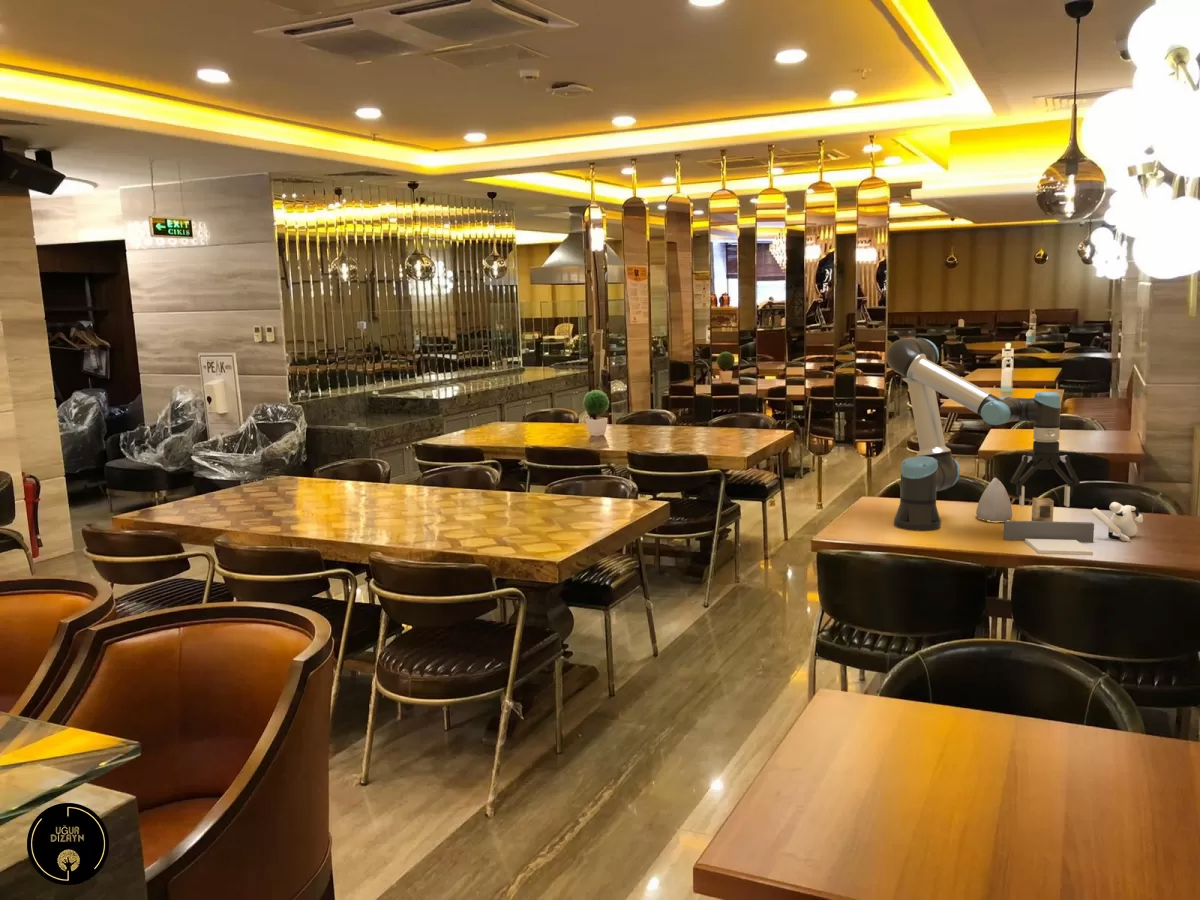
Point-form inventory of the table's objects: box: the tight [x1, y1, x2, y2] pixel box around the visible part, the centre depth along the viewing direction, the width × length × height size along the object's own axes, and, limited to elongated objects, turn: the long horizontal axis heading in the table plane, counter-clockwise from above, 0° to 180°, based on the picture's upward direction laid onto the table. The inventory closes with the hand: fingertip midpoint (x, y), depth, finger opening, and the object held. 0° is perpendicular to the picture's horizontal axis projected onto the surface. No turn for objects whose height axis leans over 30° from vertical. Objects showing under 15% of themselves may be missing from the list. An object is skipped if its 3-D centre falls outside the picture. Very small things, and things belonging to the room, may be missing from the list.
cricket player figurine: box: [1090, 501, 1144, 542], centre depth 288 cm, size 13×10×15 cm
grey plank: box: [1003, 520, 1095, 543], centre depth 288 cm, size 26×2×6 cm, turn 80°
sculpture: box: [975, 477, 1013, 521], centre depth 319 cm, size 13×12×15 cm
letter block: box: [1031, 497, 1055, 522], centre depth 294 cm, size 5×5×12 cm
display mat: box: [1024, 539, 1094, 556], centre depth 279 cm, size 15×15×1 cm
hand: (1044, 505), depth 294 cm, fingers open, 13 cm apart
